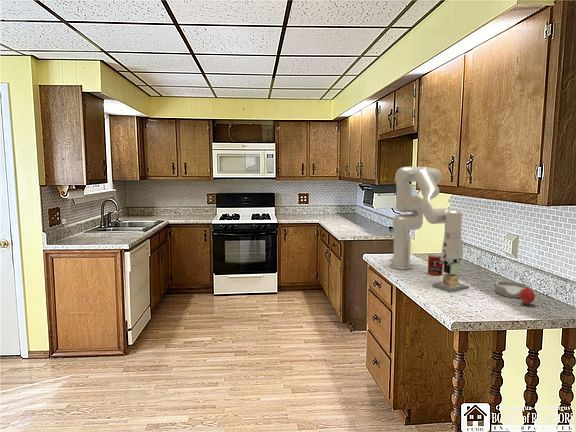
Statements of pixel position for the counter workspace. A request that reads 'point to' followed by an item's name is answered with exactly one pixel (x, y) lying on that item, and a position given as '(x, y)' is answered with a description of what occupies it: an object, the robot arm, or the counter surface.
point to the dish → (509, 288)
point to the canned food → (435, 264)
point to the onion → (527, 295)
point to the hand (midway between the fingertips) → (451, 271)
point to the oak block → (450, 280)
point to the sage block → (453, 268)
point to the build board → (450, 289)
